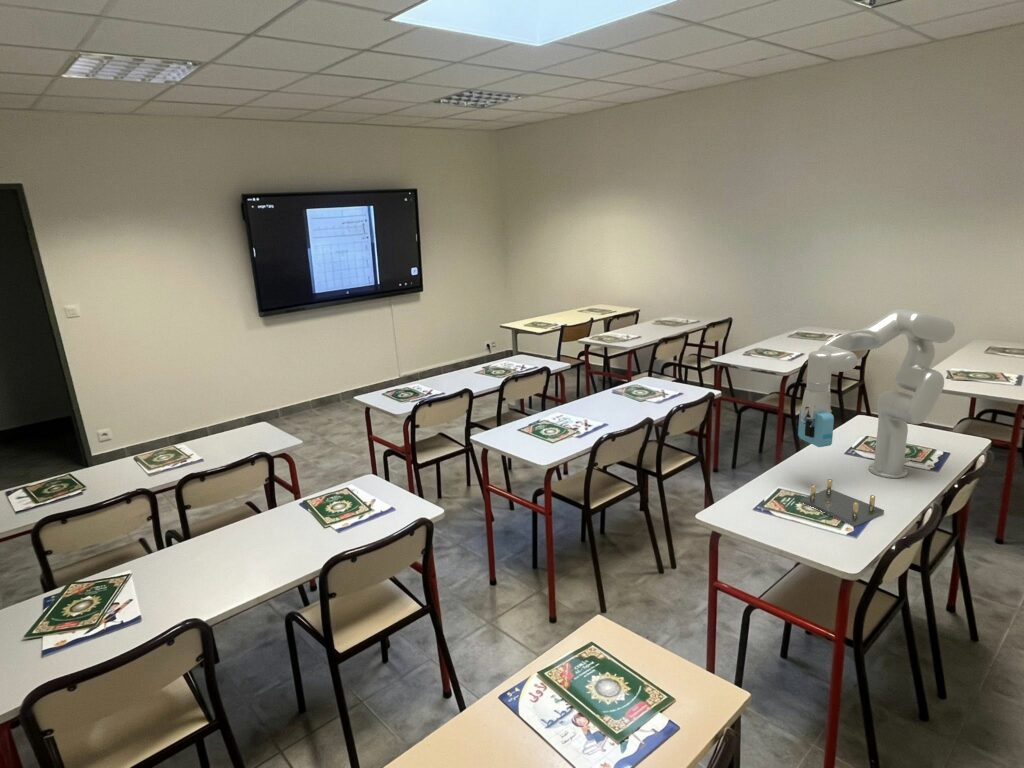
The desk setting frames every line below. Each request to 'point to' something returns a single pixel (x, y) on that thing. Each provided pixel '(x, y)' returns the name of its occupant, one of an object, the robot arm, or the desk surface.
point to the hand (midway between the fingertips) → (815, 434)
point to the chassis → (842, 505)
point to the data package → (818, 429)
